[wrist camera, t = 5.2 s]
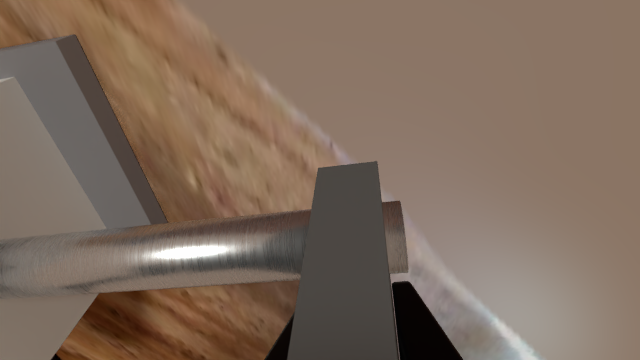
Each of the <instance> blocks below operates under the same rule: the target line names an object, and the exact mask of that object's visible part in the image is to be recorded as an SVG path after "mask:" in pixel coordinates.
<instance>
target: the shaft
mask: <svg viewBox="0 0 640 360" xmlns="http://www.w3.org/2000/svg"><path fill="white" fill-rule="evenodd" d="M395 273H408V257H407V246H406V237H405V229H404V221H403V214H402V208H401V203H400V201H391V202H382V200H381V191H380V182H379V173H378V164H377V161H375V162H367V163H358V164H349V165H340V166H332V167H323V168H318V172H317V178H316V184H315V190H314V197H313V203H312V209H308V210H298V211H287V212H277V213H267V214H257V215H246V216H236V217H226V218H215V219H205V220H195V221H184V222H174V223H164V224H153V225H143V226H133V227H122V228H112V229H102V230H91V231H81V232H71V233H60V234H50V235H40V236H29V237H19V238H9V239H0V300H5V299H20V298H35V297H50V296H65V295H80V294H95V293H110V292H125V291H140V290H155V289H170V288H185V287H200V286H215V285H230V284H245V283H260V282H275V281H290V280H300V283H299V289H298V295H297V302H296V308H295V314H294V320H293V326H292V332H291V339H290V345H289V351H288V357H287V360H399V355H398V345H397V336H396V326H395V317H394V307H393V298H392V289H391V280H390V274H395Z"/></svg>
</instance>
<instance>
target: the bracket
mask: <svg viewBox="0 0 640 360" xmlns="http://www.w3.org/2000/svg"><path fill="white" fill-rule="evenodd" d="M164 223H168V222H167V220H166V218H165V216H164V214H163V212H162V210H161V208H160V206H159V204H158V202H157V200H156V198H155V196H154V194H153V192H152V190H151V188H150V186H149V184H148V182H147V180H146V178H145V175H144V173H143V171H142V169H141V167H140V165H139V163H138V161H137V159H136V157H135V155H134V153H133V151H132V149H131V147H130V145H129V143H128V141H127V139H126V137H125V135H124V133H123V131H122V129H121V127H120V125H119V123H118V121H117V119H116V117H115V115H114V113H113V111H112V109H111V107H110V104H109V102H108V100H107V98H106V96H105V94H104V92H103V90H102V88H101V86H100V84H99V82H98V80H97V78H96V76H95V74H94V72H93V70H92V68H91V66H90V64H89V62H88V60H87V58H86V56H85V54H84V52H83V50H82V48H81V46H80V44H79V42H78V40H77V38H76V36H75V35H69V36H64V37H59V38H54V39H49V40H43V41H38V42H33V43H28V44H23V45H17V46H12V47H7V48H2V49H0V239H9V238H19V237H29V236H40V235H50V234H60V233H71V232H81V231H91V230H102V229H112V228H122V227H133V226H143V225H153V224H164ZM98 294H99V293H95V294H80V295H65V296H50V297H35V298H20V299H5V300H0V360H51V359H52V357H53V356H54V355H55V353H56V352H57V350H58V349H59V348H60V346H61V345H62V344H63V342H64V341H65V339H66V338H67V337H68V335H69V334H70V332H71V331H72V330H73V328H74V327H75V326H76V324H77V323H78V321H79V320H80V319H81V317H82V316H83V315H84V313H85V312H86V310H87V309H88V308H89V306H90V305H91V304H92V302H93V301H94V299H95V298H96V297H97V295H98Z"/></svg>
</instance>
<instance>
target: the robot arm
mask: <svg viewBox="0 0 640 360" xmlns="http://www.w3.org/2000/svg"><path fill="white" fill-rule="evenodd" d="M392 291H393V299H394V308H395V317H396V326H397V335H398V343H399V352H400V360H463V359H462V357H461V356H460V354H459V353H458V351H457V350H456V348H455V347H454V345H453V344H452V343H451V341H450V340H449V338H448V337H447V335H446V334H445V332H444V331H443V329H442V328H441V326H440V325H439V324H438V322H437V321H436V319H435V318H434V316H433V315H432V313H431V312H430V310H429V309H428V308H427V306H426V305H425V303H424V302H423V300H422V299H421V297H420V296H419V294H418V293H417V291H416V290H415V289H414V287H413V286H412V284H411V283H410V282H408V281H402V282H394V283H392ZM294 314H295V312H294ZM294 314H293V315H292V317H291V318H290V320H289V322H288V323H287V325H286V326H285V328H284V329H283V331H282V333H281V334H280V336H279V337H278V339H277V340H276V342H275V344H274V345H273V347H272V348H271V350H270V352H269V353H268V355H267V356H266V358H265V359H264V360H287V357H288V351H289V345H290V339H291V332H292V326H293V320H294ZM51 360H58V359H57V358H56V357H55V356H53V357H52V359H51Z"/></svg>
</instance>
